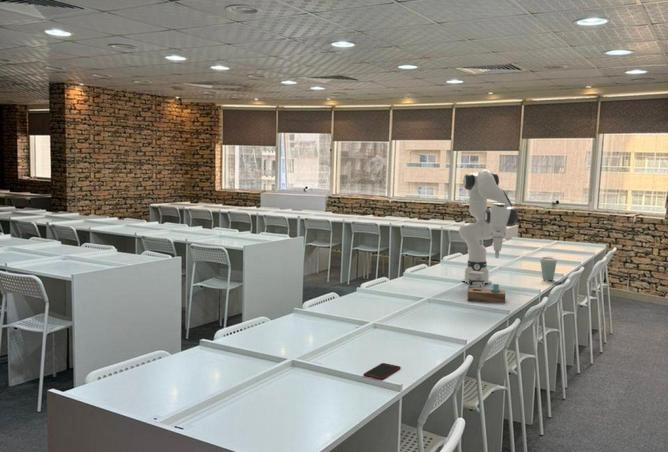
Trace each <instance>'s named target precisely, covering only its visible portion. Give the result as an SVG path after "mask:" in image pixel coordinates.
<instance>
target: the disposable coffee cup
mask: <svg viewBox="0 0 668 452" xmlns="http://www.w3.org/2000/svg"><path fill="white" fill-rule="evenodd" d="M557 262H558V261H557V259H556V258H554V257H549V256H542V257H541V258H540V267H541V268H540V269H541V276H542V280H543V279H544V280H543V281H545V280H553V281H554V278H555V277H554V276H555V274H556V273H555V271H556V266H557Z"/></svg>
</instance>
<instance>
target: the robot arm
mask: <svg viewBox="0 0 668 452" xmlns="http://www.w3.org/2000/svg"><path fill="white" fill-rule="evenodd" d="M499 177H500V176H499V175H498V174H497V173H496V172H491V171H490V170H488V169H482V170H480V171H478V172H473V173H472V172H471V173H466V174H465V175H464V177H463V179H462V184H463V187H464V189H465V190H467V191H469V200H468V201H469V202H468V203H469V209H468V211H469V214H470V215H471V217H474V218H475V220H476V222H467V223H463V224H461V225H460V226H459V229H458V234H459V236H460V238H461V239H462V240H463V241H464V242H465V244H466V246H467V250H468V251H467V252H468V260H467V262H466V263H467V267H466V268H465V270H464V278H462V279H461V282H462V281H466V282H467V283H466V282H465V283H466V284H468V278H469V272H470V271H478V272H484V285H486V284H485V283H488V284H492V281H491V280H490V276H489V273H490V272H489V269H488V268H487V267H488V266H487V265H488V263H487V248H485V246H483V245H482V244H481V243H480V240H481V241H482V240H491V239H492V243H493V250H494V251H495V252H494V254H495V255H494V256H495V259H499V257H500V256H499V255H500V252H501V251H502V246H503V241H504V238H505V237H506V236H507V229H508V227H507V226H513V225H515V224H516V223H517V222H518V219H519V213H518V210H517V209H516V208H515V207H514V206H513V204H512V202H511V200H510V199H509V197H508V194H507V193H506V191H505V190H504V189H503V188H500V186H499V184H500V178H499ZM488 200H491V201H494V203H492V205H491V207H488Z"/></svg>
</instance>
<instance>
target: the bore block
mask: <svg viewBox="0 0 668 452" xmlns="http://www.w3.org/2000/svg"><path fill="white" fill-rule="evenodd" d="M467 302H484V303H497V304H500V303H501V304H505V303H506V290H505V289H499V292H493V288H484V289H482V288H468V287H467Z"/></svg>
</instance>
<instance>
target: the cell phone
mask: <svg viewBox="0 0 668 452" xmlns="http://www.w3.org/2000/svg"><path fill="white" fill-rule="evenodd" d="M400 370H402V367H401V366H399V365H395V364H391V363H385V362H382V363H379V364H377V365H376V366H375V367H372V368H371V369H369V370H368V371H366V372H365V373H363V377H365V376H366V377H365V378H369V377H371V379H374V378H375V379H374V380H378V379H381V380H380V381H384V380H385V379H388V377H390V376H392V375H394V374H395V373H397V372H398V371H400Z"/></svg>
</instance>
